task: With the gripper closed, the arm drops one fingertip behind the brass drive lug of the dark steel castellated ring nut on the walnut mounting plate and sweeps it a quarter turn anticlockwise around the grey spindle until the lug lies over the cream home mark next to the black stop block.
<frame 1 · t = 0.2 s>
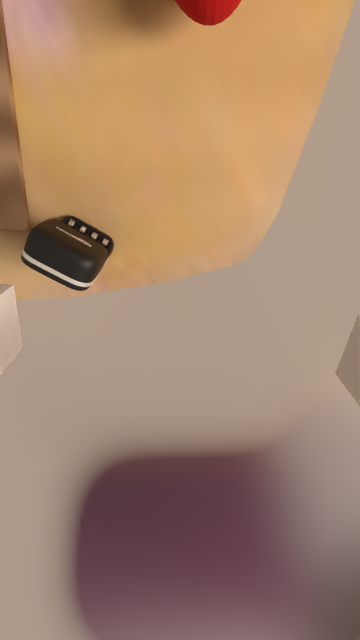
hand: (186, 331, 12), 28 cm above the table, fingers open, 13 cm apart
battery charger: (89, 234, 38), on the table
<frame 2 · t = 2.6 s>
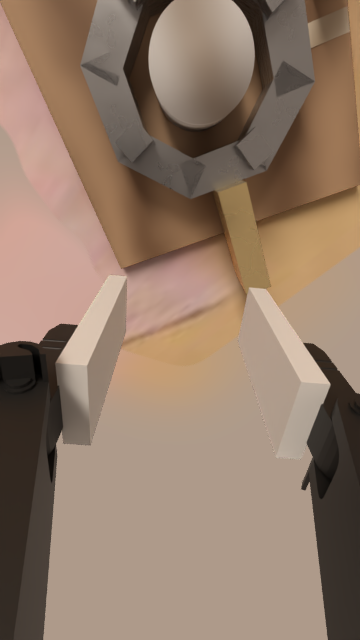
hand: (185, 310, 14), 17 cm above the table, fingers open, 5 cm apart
ring nut: (215, 141, 22), point 4 cm above the table, hinge at 0.0°
mount plate: (195, 87, 24), on the table
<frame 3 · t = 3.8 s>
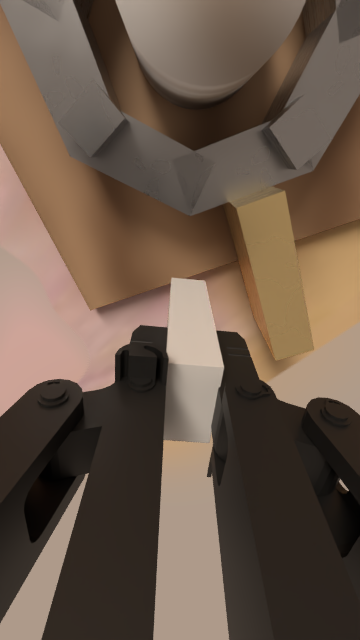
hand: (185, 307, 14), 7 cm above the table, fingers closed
ring nut: (231, 122, 14), point 4 cm above the table, hinge at 0.0°
mount plate: (196, 38, 15), on the table
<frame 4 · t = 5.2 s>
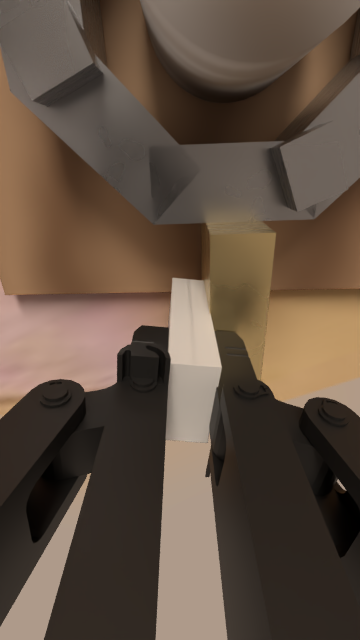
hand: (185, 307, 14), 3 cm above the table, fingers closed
ring nut: (235, 126, 10), point 4 cm above the table, hinge at 0.7°, touching gripper
mount plate: (224, 12, 12), on the table
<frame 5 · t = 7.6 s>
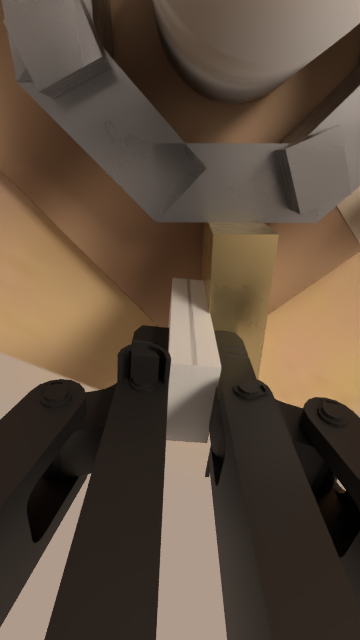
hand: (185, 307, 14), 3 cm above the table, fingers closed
ring nut: (241, 126, 10), point 4 cm above the table, hinge at 49.1°, touching gripper
mount plate: (234, 13, 12), on the table
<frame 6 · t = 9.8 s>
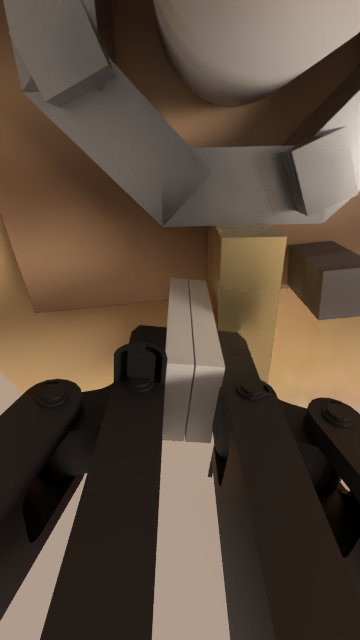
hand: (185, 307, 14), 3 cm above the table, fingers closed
ring nut: (246, 129, 10), point 4 cm above the table, hinge at 85.1°
mount plate: (234, 16, 12), on the table
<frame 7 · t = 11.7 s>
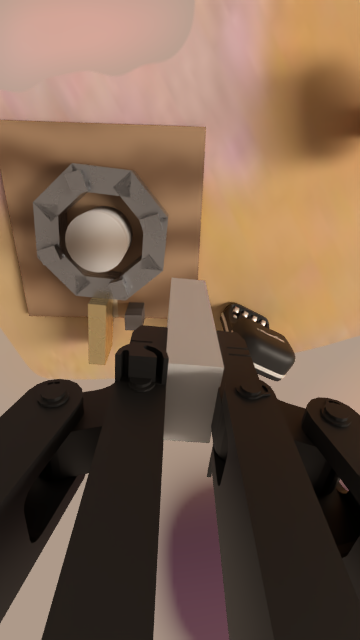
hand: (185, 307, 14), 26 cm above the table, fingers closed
ring nut: (101, 272, 36), point 4 cm above the table, hinge at 85.0°
mount plate: (108, 231, 38), on the table
battery charger: (245, 315, 43), on the table
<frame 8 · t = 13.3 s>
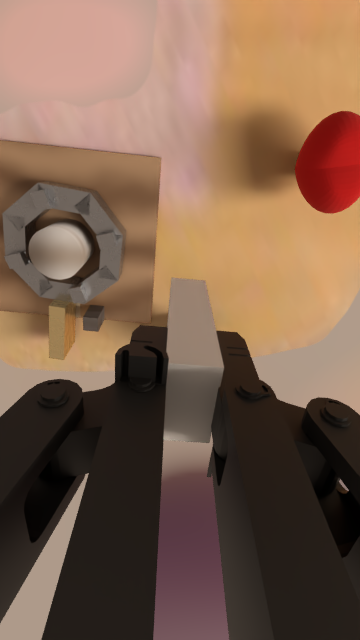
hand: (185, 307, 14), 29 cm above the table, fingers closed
ring nut: (63, 278, 41), point 4 cm above the table, hinge at 85.0°
light bulb: (309, 164, 38), on the table
mount plate: (73, 240, 42), on the table
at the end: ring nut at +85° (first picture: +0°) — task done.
